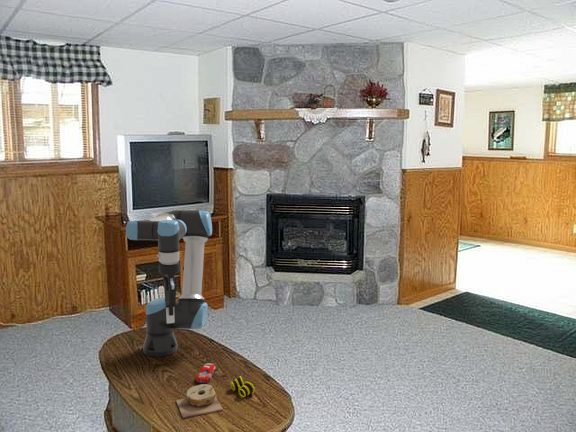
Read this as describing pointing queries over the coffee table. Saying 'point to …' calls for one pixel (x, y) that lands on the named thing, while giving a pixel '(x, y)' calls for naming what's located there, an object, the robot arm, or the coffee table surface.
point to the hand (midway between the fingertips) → (170, 322)
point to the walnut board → (197, 408)
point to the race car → (206, 373)
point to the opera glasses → (242, 387)
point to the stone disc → (200, 395)
